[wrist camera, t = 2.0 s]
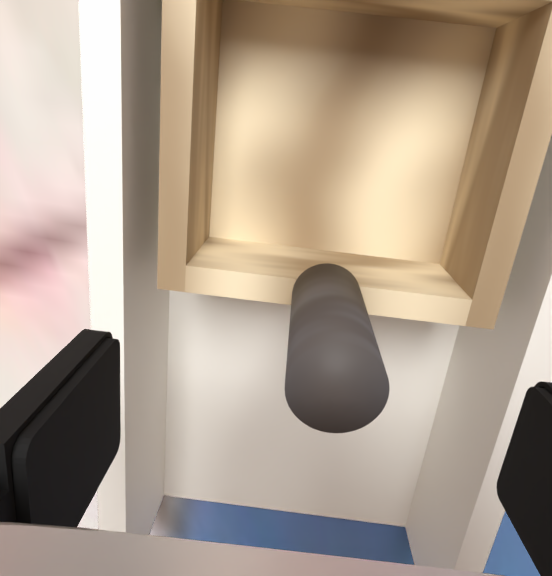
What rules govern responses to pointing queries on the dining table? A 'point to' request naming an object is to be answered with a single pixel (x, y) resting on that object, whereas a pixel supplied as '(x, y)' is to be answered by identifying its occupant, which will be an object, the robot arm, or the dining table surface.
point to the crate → (350, 170)
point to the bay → (285, 355)
